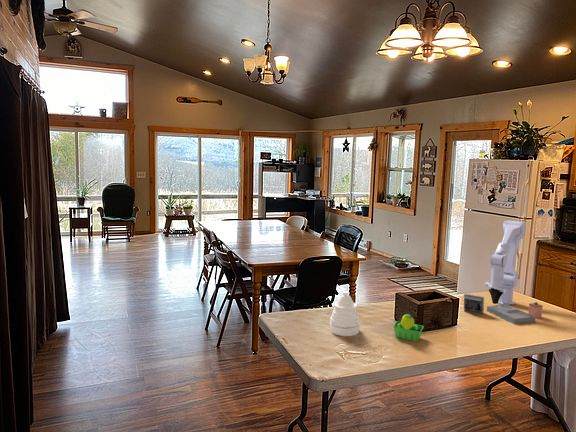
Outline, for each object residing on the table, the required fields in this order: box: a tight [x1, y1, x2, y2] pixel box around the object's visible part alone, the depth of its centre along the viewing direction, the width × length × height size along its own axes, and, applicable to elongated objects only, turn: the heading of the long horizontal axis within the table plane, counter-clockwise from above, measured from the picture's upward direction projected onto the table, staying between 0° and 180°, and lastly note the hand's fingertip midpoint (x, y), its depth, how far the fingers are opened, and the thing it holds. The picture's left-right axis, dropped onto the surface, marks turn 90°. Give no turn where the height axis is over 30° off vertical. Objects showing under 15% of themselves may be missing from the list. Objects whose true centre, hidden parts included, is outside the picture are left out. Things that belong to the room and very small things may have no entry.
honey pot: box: [329, 290, 360, 337], centre depth 192 cm, size 13×13×18 cm
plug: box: [527, 301, 544, 319], centre depth 214 cm, size 4×4×7 cm
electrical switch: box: [463, 292, 485, 315], centre depth 218 cm, size 9×5×9 cm, turn 57°
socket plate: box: [486, 304, 536, 325], centre depth 213 cm, size 18×12×2 cm, turn 16°
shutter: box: [497, 303, 518, 313], centre depth 215 cm, size 6×6×2 cm
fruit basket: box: [392, 313, 424, 342], centre depth 185 cm, size 11×9×11 cm
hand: (495, 303), depth 223 cm, fingers closed
